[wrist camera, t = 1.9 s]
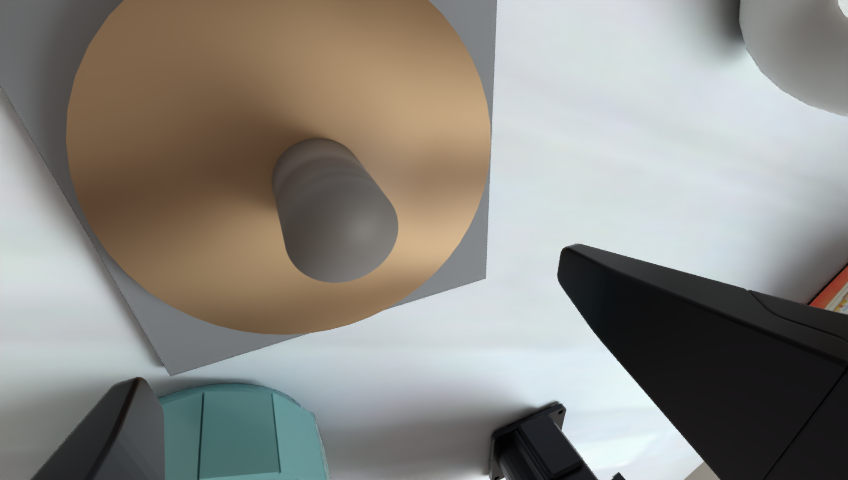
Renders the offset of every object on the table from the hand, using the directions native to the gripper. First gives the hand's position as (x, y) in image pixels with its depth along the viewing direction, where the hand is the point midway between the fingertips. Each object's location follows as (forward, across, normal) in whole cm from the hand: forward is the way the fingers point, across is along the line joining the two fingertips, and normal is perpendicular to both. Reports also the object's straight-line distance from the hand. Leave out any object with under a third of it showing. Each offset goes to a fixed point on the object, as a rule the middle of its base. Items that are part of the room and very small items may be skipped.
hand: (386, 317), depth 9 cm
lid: (+8, 0, 0) cm, 8 cm away
